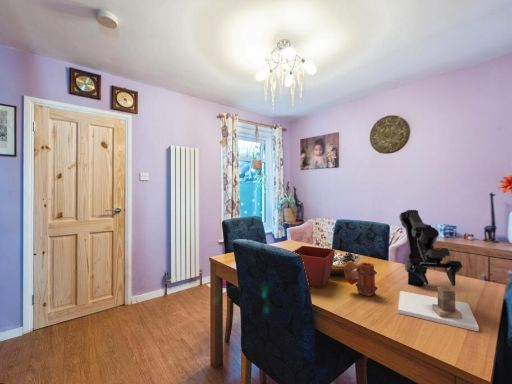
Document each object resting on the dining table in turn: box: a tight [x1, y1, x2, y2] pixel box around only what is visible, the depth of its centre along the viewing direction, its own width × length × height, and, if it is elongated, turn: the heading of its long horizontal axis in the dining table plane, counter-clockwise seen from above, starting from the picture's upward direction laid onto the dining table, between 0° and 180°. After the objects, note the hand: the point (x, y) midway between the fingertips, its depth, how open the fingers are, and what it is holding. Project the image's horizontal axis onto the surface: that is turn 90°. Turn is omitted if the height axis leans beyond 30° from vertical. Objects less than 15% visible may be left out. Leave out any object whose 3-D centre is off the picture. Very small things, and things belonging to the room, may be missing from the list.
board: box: [397, 290, 480, 332], centre depth 98 cm, size 24×20×2 cm
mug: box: [343, 260, 378, 297], centre depth 115 cm, size 15×8×15 cm, turn 71°
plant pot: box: [292, 245, 336, 289], centre depth 129 cm, size 19×19×17 cm
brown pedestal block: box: [432, 286, 462, 319], centre depth 92 cm, size 7×6×10 cm
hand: (440, 285), depth 96 cm, fingers open, 9 cm apart
